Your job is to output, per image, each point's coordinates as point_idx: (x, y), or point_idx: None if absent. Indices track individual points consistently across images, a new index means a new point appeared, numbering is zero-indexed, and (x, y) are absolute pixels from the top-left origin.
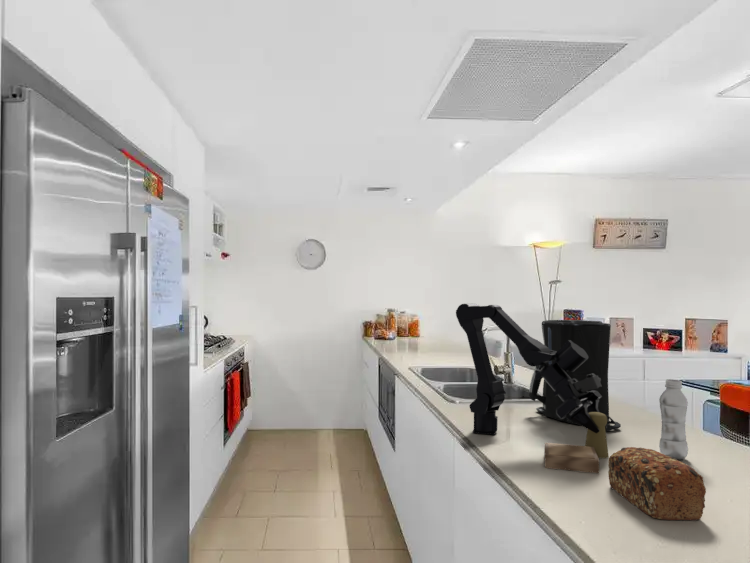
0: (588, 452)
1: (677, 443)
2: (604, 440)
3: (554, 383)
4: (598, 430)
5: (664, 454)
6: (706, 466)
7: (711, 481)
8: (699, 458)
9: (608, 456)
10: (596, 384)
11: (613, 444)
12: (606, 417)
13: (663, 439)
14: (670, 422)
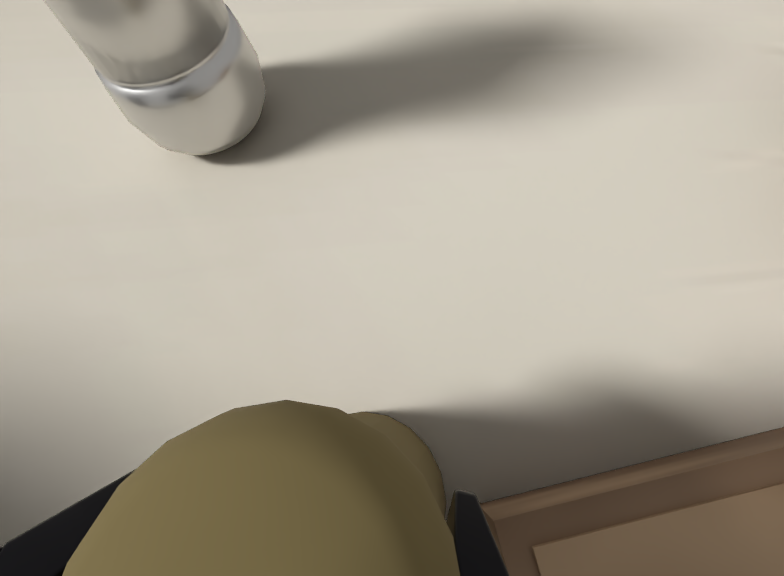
0: (754, 539)
1: (234, 22)
2: (388, 436)
3: None
4: (479, 503)
5: (240, 135)
6: (293, 23)
7: (507, 5)
8: None
9: (367, 412)
10: None
11: (19, 418)
12: (288, 408)
13: (189, 73)
14: None
